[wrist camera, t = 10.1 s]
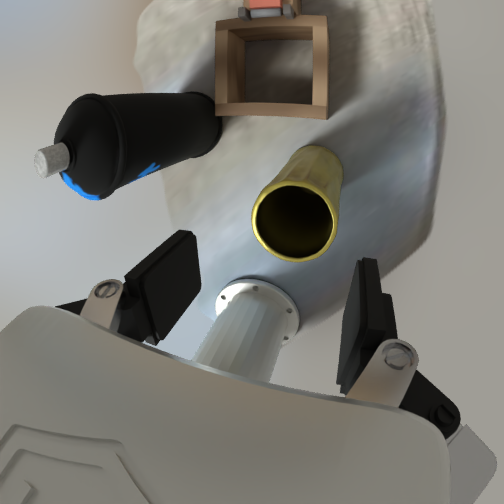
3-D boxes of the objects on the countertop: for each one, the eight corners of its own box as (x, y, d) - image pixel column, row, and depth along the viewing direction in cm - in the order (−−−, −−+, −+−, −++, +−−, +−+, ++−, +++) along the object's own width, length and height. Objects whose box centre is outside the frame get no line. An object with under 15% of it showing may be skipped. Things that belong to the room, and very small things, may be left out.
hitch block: (328, 119, 24) (325, 119, 19) (234, 114, 27) (207, 116, 21) (325, -25, 15) (320, -54, 10) (236, -20, 18) (211, -43, 12)
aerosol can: (169, 87, 27) (18, 100, 10) (230, 98, 26) (78, 103, 9) (158, 148, 31) (21, 204, 15) (214, 165, 30) (79, 242, 14)
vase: (346, 150, 25) (354, 182, 13) (338, 204, 28) (334, 277, 16) (289, 141, 27) (245, 166, 15) (284, 195, 30) (242, 259, 18)
